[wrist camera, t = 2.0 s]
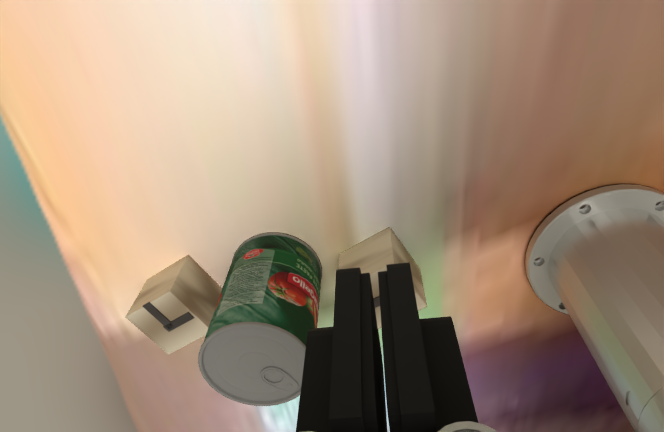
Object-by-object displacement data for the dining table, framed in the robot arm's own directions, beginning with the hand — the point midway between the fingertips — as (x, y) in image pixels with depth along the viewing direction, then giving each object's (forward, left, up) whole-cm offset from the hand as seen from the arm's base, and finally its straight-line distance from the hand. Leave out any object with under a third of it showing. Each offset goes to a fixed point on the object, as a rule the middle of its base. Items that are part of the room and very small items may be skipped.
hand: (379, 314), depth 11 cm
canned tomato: (-11, +16, -25) cm, 32 cm away
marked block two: (-8, +24, -25) cm, 35 cm away
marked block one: (-15, +8, -25) cm, 30 cm away
